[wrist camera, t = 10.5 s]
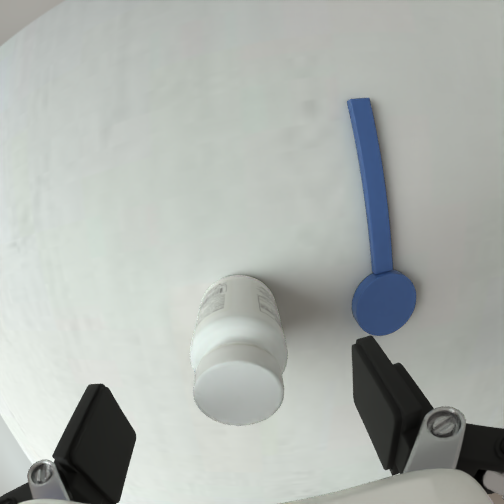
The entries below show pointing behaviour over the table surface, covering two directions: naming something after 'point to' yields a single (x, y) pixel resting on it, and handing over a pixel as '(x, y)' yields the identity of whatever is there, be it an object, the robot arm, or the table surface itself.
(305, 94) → the table surface
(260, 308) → the pill bottle
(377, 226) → the spoon
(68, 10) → the table surface
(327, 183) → the table surface
